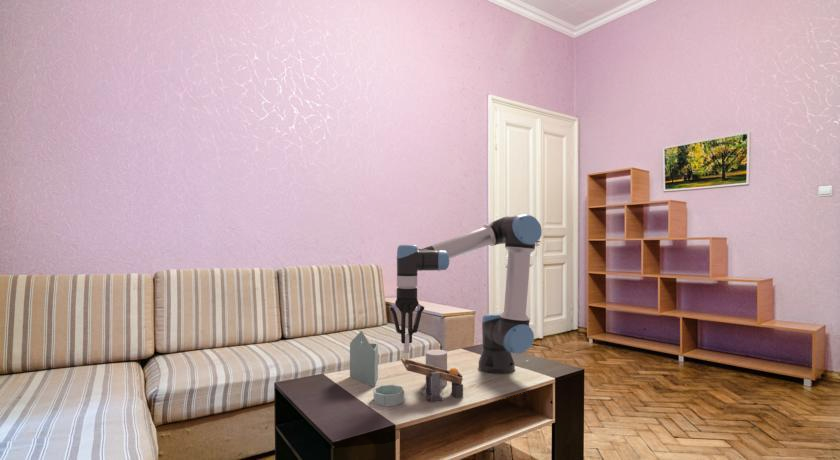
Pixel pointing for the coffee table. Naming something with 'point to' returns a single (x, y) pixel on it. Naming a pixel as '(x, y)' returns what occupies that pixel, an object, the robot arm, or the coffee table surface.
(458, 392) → the block
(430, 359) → the pale pink cylinder
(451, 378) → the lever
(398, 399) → the bowl
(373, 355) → the planter
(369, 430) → the coffee table surface
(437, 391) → the fulcrum
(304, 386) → the coffee table surface
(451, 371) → the ball
